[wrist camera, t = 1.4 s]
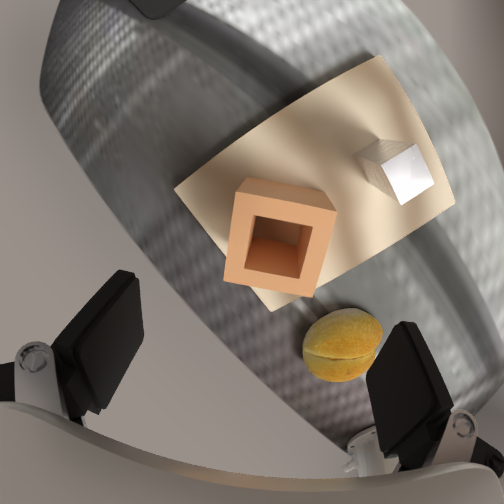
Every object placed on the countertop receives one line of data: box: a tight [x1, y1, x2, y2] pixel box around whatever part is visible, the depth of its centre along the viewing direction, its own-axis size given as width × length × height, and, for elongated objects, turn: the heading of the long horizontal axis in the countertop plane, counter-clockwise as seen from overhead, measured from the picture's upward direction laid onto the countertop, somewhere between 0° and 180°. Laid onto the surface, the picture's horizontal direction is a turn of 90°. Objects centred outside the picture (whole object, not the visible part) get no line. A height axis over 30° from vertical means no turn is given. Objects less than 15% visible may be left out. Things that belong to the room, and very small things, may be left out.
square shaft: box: [353, 139, 434, 205], centre depth 16 cm, size 3×3×6 cm
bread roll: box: [303, 308, 383, 382], centre depth 26 cm, size 8×9×4 cm
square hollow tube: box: [223, 177, 337, 297], centre depth 19 cm, size 6×6×6 cm
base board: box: [174, 55, 456, 312], centre depth 21 cm, size 20×14×1 cm
